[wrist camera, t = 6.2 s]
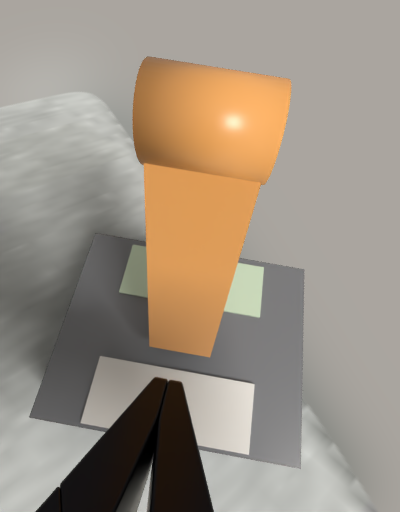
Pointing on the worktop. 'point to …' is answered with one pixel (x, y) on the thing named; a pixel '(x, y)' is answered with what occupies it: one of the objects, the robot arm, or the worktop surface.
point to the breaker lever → (200, 186)
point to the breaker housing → (183, 356)
